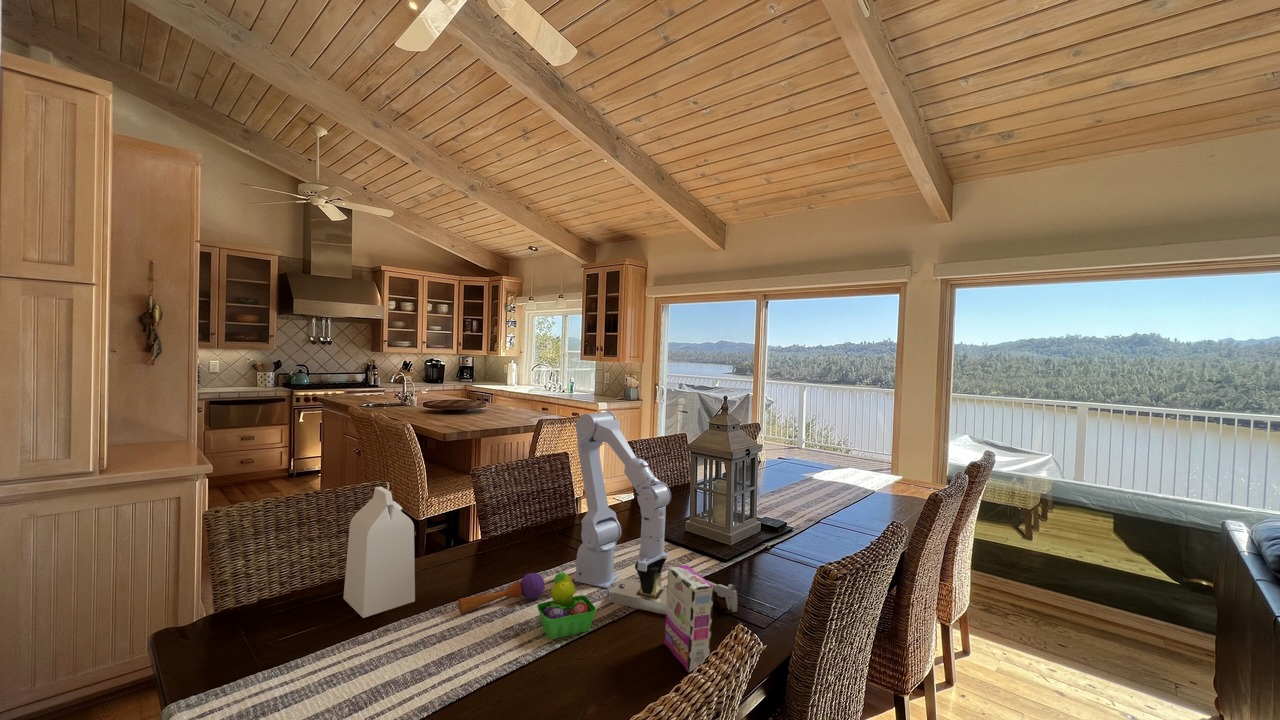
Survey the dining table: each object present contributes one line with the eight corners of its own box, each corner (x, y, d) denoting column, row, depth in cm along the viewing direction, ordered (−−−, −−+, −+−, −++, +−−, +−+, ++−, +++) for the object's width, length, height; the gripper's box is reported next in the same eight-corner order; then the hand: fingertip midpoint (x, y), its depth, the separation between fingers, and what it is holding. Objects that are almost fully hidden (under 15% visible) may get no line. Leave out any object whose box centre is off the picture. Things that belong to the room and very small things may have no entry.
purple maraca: (456, 590, 124) (538, 568, 135) (458, 616, 124) (540, 592, 134) (461, 596, 119) (546, 572, 129) (464, 623, 118) (549, 598, 129)
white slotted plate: (608, 601, 130) (609, 590, 130) (621, 588, 137) (621, 577, 137) (680, 618, 124) (681, 606, 124) (689, 602, 131) (689, 591, 131)
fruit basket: (545, 644, 110) (548, 590, 110) (533, 623, 118) (535, 573, 118) (596, 633, 116) (599, 581, 115) (582, 614, 123) (584, 565, 123)
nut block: (639, 597, 129) (640, 576, 129) (645, 590, 133) (645, 570, 133) (655, 600, 128) (656, 579, 128) (660, 593, 132) (661, 573, 131)
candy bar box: (711, 669, 105) (715, 586, 104) (688, 674, 103) (692, 589, 102) (684, 639, 115) (688, 563, 114) (663, 643, 113) (666, 566, 112)
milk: (343, 598, 125) (347, 488, 125) (393, 583, 134) (397, 480, 133) (362, 618, 117) (366, 500, 116) (414, 601, 126) (419, 491, 125)
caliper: (737, 613, 128) (738, 587, 127) (733, 614, 127) (734, 588, 127) (691, 578, 146) (692, 555, 146) (687, 578, 145) (689, 556, 145)
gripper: (659, 546, 122) (656, 605, 122) (676, 527, 135) (674, 580, 136) (630, 541, 124) (627, 599, 124) (650, 523, 138) (647, 575, 138)
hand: (650, 589), depth 130 cm, fingers closed on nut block, 4 cm apart
